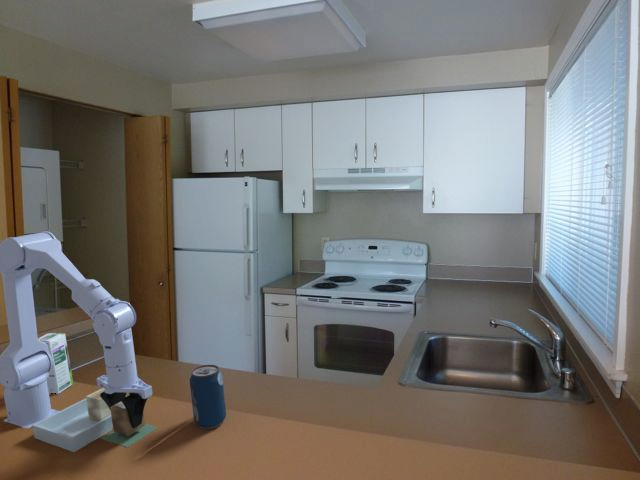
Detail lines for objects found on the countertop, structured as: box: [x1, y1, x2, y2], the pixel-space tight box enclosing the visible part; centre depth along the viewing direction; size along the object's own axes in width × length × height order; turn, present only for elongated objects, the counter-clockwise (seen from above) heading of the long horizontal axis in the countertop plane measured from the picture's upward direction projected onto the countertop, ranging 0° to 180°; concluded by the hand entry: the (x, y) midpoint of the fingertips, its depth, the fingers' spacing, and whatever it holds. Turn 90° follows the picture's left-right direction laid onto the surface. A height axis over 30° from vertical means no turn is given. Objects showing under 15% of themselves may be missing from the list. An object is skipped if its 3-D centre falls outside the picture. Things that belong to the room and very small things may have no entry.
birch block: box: [85, 387, 111, 422], centre depth 110 cm, size 4×4×6 cm
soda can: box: [189, 364, 227, 430], centre depth 106 cm, size 7×7×12 cm
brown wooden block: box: [110, 401, 146, 436], centre depth 103 cm, size 4×4×6 cm
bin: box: [32, 395, 128, 453], centre depth 108 cm, size 13×17×4 cm
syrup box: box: [38, 332, 74, 395], centre depth 127 cm, size 6×6×14 cm
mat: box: [100, 423, 159, 448], centre depth 103 cm, size 8×8×1 cm
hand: (128, 423), depth 103 cm, fingers closed on brown wooden block, 4 cm apart
